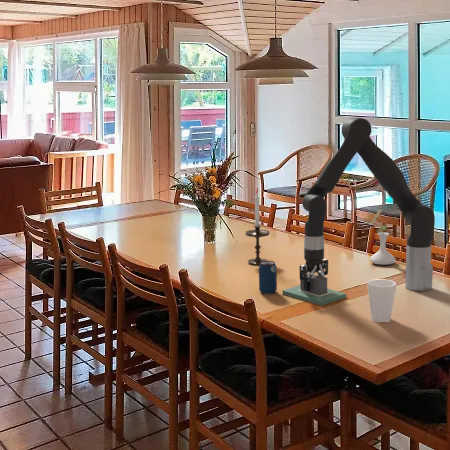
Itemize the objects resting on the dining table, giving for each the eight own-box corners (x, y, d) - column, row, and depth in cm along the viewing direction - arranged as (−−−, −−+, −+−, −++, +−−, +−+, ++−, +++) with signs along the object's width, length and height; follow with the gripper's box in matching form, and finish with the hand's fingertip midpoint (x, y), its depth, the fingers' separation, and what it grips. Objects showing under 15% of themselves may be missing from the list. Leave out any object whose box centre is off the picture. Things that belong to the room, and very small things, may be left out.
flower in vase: (380, 259, 311) (381, 205, 306) (400, 263, 302) (402, 208, 297) (362, 264, 303) (362, 209, 298) (382, 269, 294) (384, 212, 289)
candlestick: (258, 258, 317) (257, 184, 310) (274, 262, 309) (273, 186, 302) (241, 262, 310) (239, 187, 303) (257, 267, 302) (256, 189, 295)
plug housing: (327, 293, 257) (327, 277, 256) (319, 295, 254) (319, 280, 253) (308, 287, 264) (308, 273, 263) (300, 290, 261) (300, 275, 260)
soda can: (280, 292, 264) (280, 263, 262) (265, 295, 261) (264, 265, 259) (270, 288, 270) (270, 259, 268) (255, 291, 267) (255, 261, 265)
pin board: (346, 297, 257) (346, 283, 256) (321, 305, 248) (321, 291, 247) (306, 286, 272) (306, 273, 270) (282, 294, 263) (282, 280, 261)
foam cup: (361, 319, 232) (362, 283, 229) (376, 313, 238) (377, 277, 236) (385, 326, 225) (386, 288, 223) (400, 319, 232) (401, 282, 229)
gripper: (308, 251, 248) (308, 294, 252) (334, 245, 258) (333, 286, 261) (293, 248, 254) (293, 290, 257) (319, 242, 263) (319, 282, 266)
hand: (314, 288), depth 259 cm, fingers open, 7 cm apart
